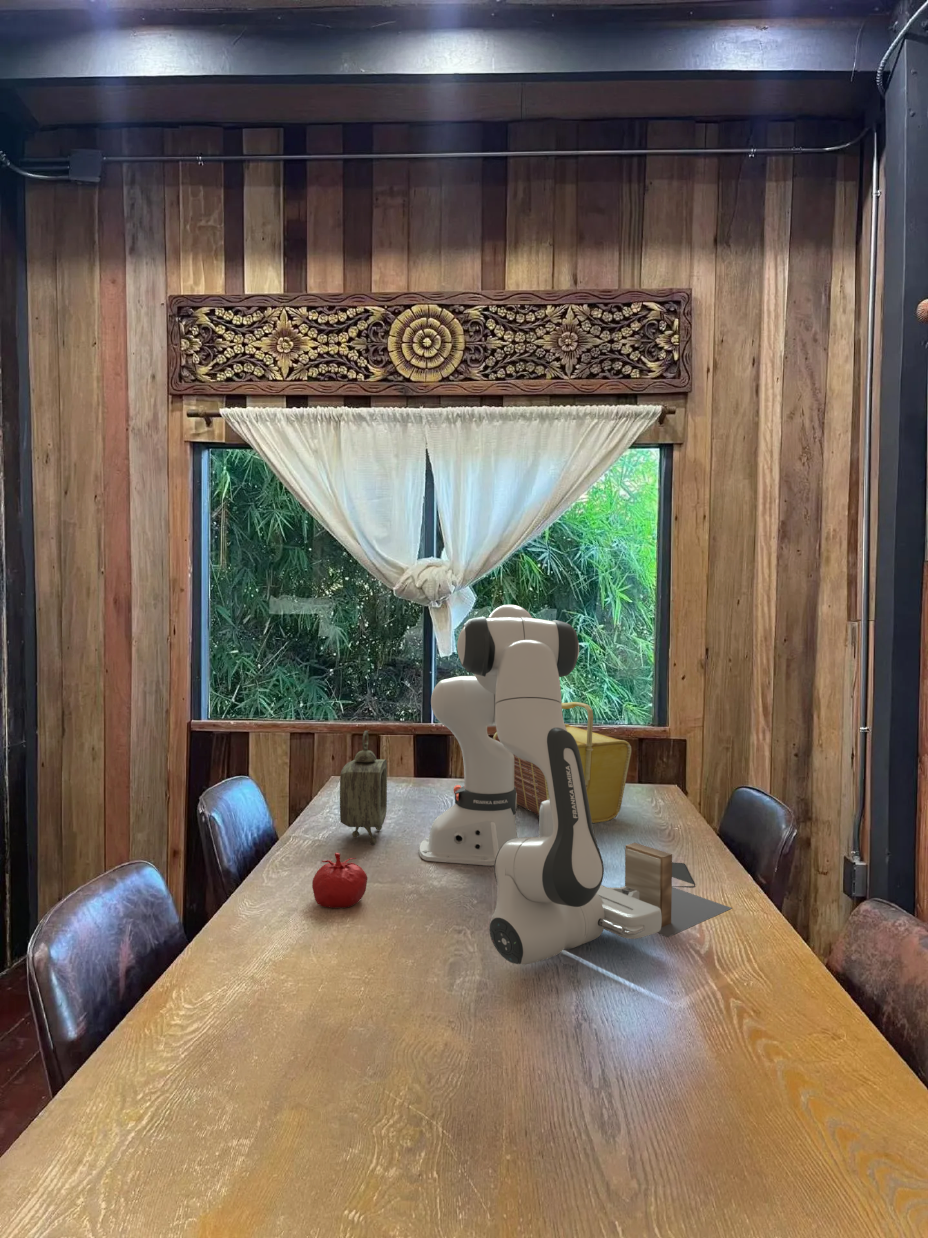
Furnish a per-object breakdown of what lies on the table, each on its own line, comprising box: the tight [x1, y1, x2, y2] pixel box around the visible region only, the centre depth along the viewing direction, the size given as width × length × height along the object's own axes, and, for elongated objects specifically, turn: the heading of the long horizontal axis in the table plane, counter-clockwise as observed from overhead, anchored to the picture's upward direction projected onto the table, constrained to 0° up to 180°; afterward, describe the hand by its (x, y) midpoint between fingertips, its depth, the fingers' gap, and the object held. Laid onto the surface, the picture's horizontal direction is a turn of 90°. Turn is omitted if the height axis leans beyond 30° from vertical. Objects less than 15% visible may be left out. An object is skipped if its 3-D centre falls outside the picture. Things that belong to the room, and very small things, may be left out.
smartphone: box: [672, 861, 696, 889], centre depth 158 cm, size 7×1×15 cm
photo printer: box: [538, 800, 553, 837], centre depth 172 cm, size 10×4×12 cm, turn 98°
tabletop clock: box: [339, 730, 388, 846], centre depth 182 cm, size 14×9×25 cm, turn 179°
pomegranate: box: [311, 852, 368, 909], centre depth 144 cm, size 10×10×9 cm
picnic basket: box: [492, 701, 632, 824], centre depth 204 cm, size 29×26×30 cm
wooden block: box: [624, 842, 673, 927], centre depth 136 cm, size 3×8×12 cm, turn 39°
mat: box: [656, 887, 733, 938], centre depth 140 cm, size 19×14×1 cm
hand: (632, 893), depth 134 cm, fingers closed
